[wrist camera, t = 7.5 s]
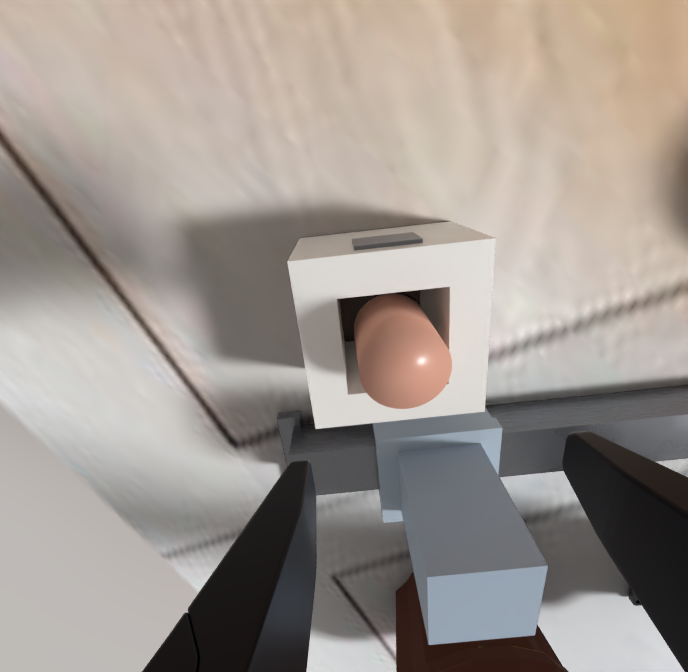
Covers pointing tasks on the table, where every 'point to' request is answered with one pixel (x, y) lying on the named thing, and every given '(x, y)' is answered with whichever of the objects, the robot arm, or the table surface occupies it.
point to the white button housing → (390, 277)
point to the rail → (507, 435)
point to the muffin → (463, 646)
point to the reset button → (399, 353)
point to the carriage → (460, 527)
